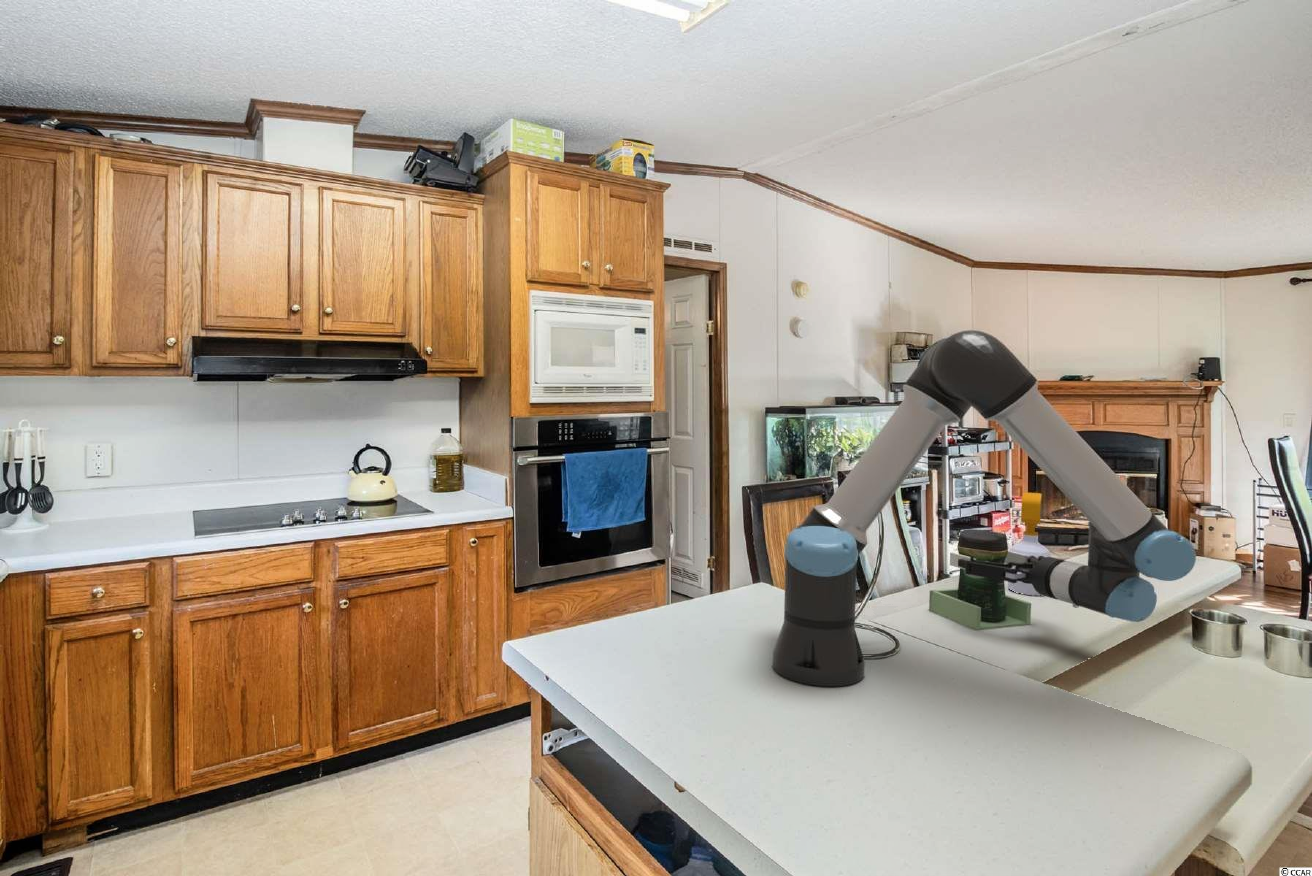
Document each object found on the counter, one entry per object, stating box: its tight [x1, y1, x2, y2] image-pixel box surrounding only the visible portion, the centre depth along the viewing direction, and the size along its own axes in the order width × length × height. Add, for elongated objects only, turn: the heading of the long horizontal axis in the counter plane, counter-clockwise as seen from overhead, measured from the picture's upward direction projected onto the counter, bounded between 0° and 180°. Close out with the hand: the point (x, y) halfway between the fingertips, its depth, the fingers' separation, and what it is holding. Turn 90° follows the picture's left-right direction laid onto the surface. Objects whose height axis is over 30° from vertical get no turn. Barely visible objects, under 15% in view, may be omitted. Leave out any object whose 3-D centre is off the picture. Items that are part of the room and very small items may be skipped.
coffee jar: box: [956, 528, 1009, 621], centre depth 147 cm, size 10×8×19 cm
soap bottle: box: [1007, 492, 1052, 597], centre depth 171 cm, size 9×9×25 cm
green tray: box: [928, 587, 1032, 631], centre depth 148 cm, size 14×14×4 cm
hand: (976, 557), depth 149 cm, fingers open, 13 cm apart
